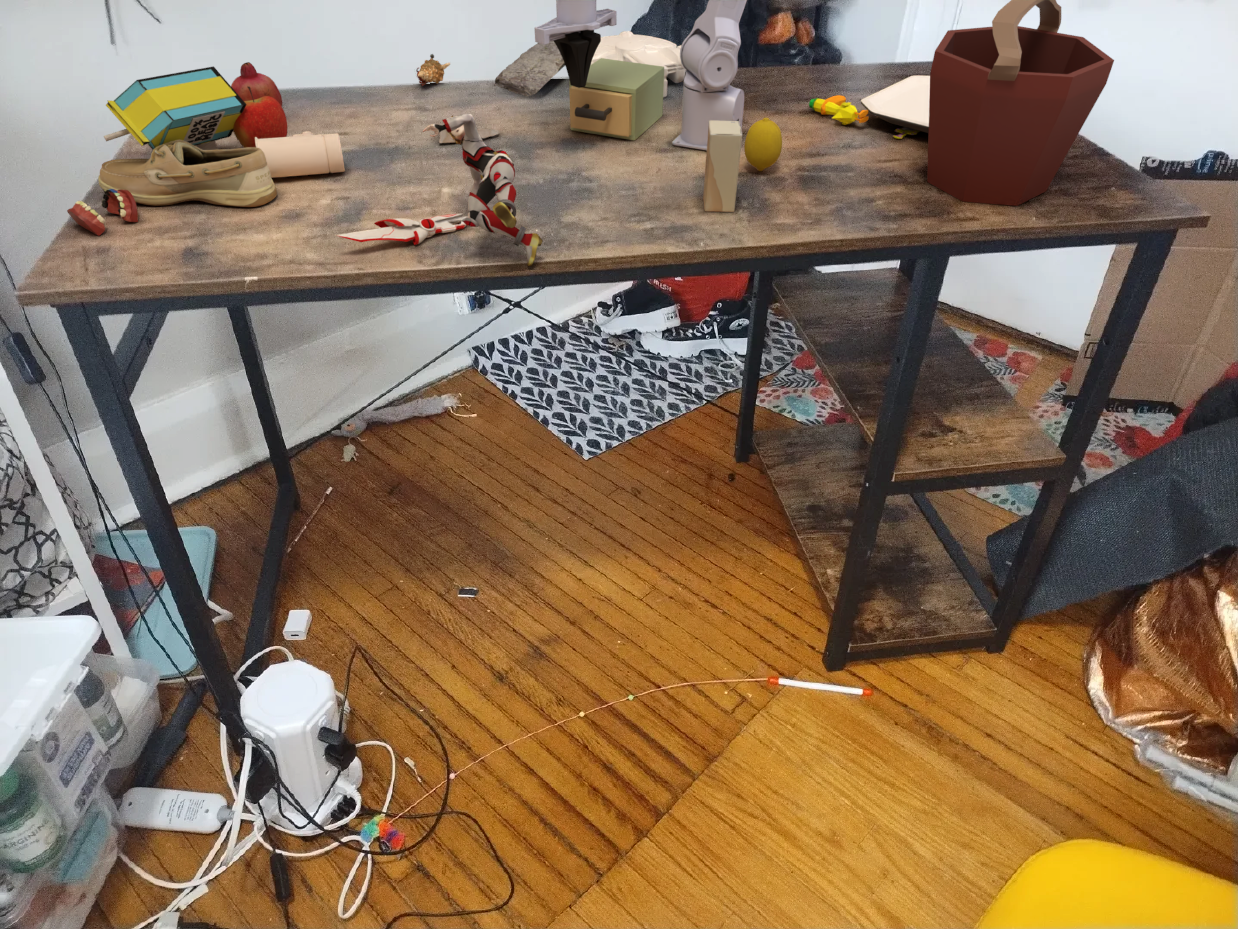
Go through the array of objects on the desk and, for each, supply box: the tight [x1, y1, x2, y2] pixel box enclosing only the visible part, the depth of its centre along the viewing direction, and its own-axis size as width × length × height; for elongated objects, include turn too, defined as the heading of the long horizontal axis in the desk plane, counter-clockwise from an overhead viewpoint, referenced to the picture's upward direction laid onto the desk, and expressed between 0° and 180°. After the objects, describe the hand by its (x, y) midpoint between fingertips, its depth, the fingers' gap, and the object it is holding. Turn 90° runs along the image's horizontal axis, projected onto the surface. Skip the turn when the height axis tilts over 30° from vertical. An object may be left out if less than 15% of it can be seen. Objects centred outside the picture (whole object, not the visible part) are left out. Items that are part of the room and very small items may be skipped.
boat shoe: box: [97, 140, 278, 208], centre depth 124 cm, size 25×9×8 cm, turn 84°
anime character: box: [335, 113, 543, 267], centre depth 112 cm, size 23×16×25 cm
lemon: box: [743, 117, 783, 172], centre depth 132 cm, size 6×6×8 cm
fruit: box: [230, 61, 283, 108], centre depth 144 cm, size 8×8×10 cm
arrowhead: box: [438, 127, 500, 144], centre depth 144 cm, size 5×1×10 cm
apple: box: [232, 86, 288, 148], centre depth 135 cm, size 8×8×10 cm
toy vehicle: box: [591, 30, 686, 98], centre depth 166 cm, size 23×25×6 cm
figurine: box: [414, 53, 451, 88], centre depth 164 cm, size 14×5×4 cm, turn 148°
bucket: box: [926, 0, 1115, 207], centre depth 124 cm, size 24×22×25 cm
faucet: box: [255, 130, 346, 179], centre depth 133 cm, size 6×12×12 cm
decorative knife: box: [892, 126, 922, 140], centre depth 148 cm, size 12×1×5 cm
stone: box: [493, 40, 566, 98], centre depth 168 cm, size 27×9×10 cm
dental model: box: [66, 189, 139, 237], centre depth 119 cm, size 6×4×8 cm
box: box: [702, 120, 743, 213], centre depth 122 cm, size 5×4×11 cm
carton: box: [103, 66, 247, 151], centre depth 126 cm, size 7×8×18 cm
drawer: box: [568, 86, 632, 137], centre depth 145 cm, size 15×10×6 cm
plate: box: [860, 74, 930, 134], centre depth 151 cm, size 29×29×2 cm
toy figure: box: [808, 94, 870, 126], centre depth 151 cm, size 7×4×12 cm
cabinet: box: [568, 58, 664, 141], centre depth 148 cm, size 13×12×8 cm
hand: (578, 85), depth 133 cm, fingers closed
